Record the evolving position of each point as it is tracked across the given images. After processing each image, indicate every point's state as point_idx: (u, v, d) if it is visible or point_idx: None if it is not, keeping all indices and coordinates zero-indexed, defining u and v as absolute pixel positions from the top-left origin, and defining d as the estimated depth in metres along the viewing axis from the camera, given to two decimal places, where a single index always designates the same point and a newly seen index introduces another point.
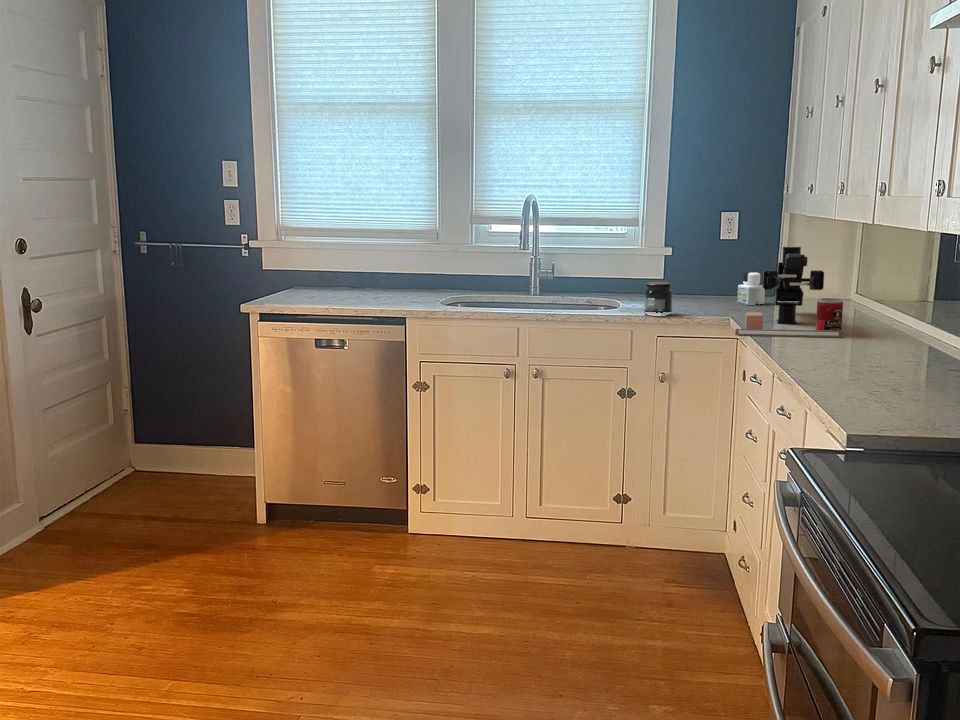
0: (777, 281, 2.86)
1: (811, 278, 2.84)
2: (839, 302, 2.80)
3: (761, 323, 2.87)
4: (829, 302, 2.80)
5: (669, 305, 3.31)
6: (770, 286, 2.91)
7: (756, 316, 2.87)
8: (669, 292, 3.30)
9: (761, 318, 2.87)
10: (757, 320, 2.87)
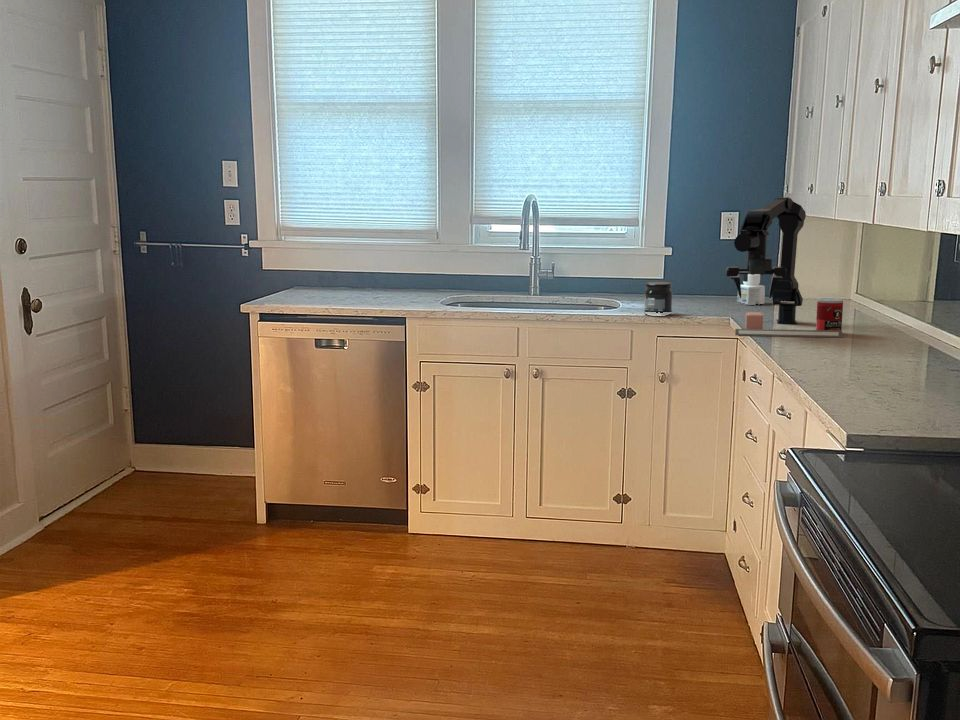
0: (738, 292, 2.91)
1: (772, 289, 2.87)
2: (839, 302, 2.80)
3: (761, 323, 2.87)
4: (829, 302, 2.80)
5: (669, 305, 3.31)
6: None
7: (756, 316, 2.87)
8: (669, 292, 3.30)
9: (761, 318, 2.87)
10: (757, 320, 2.87)
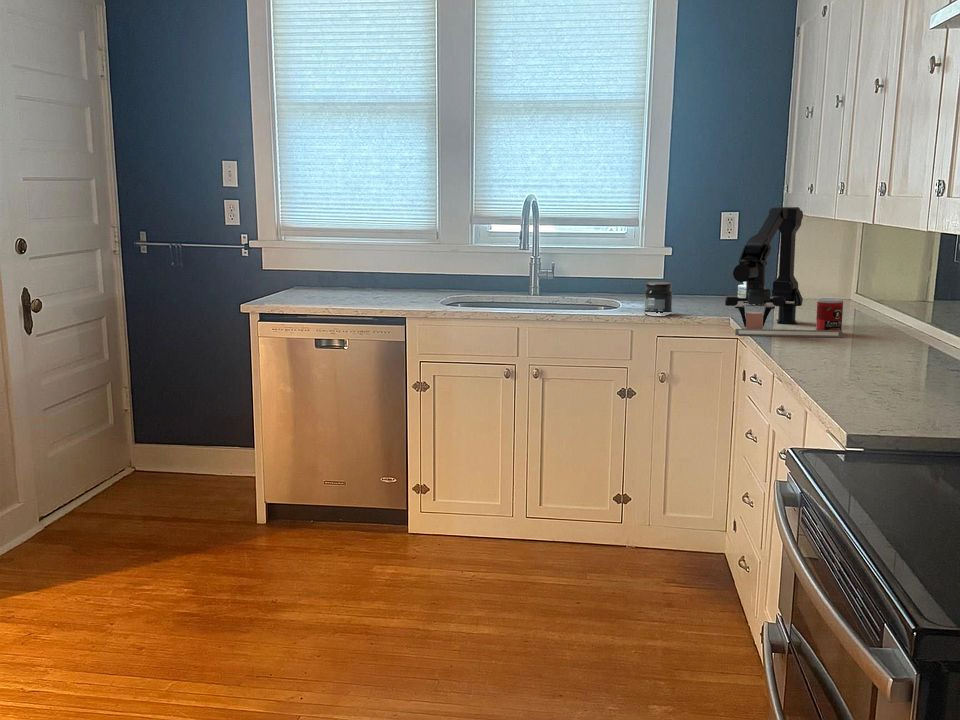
0: (743, 321, 2.92)
1: (764, 318, 2.89)
2: (839, 302, 2.80)
3: (761, 323, 2.87)
4: (829, 302, 2.80)
5: (669, 305, 3.31)
6: None
7: (756, 316, 2.87)
8: (669, 292, 3.30)
9: (761, 318, 2.87)
10: (757, 320, 2.87)
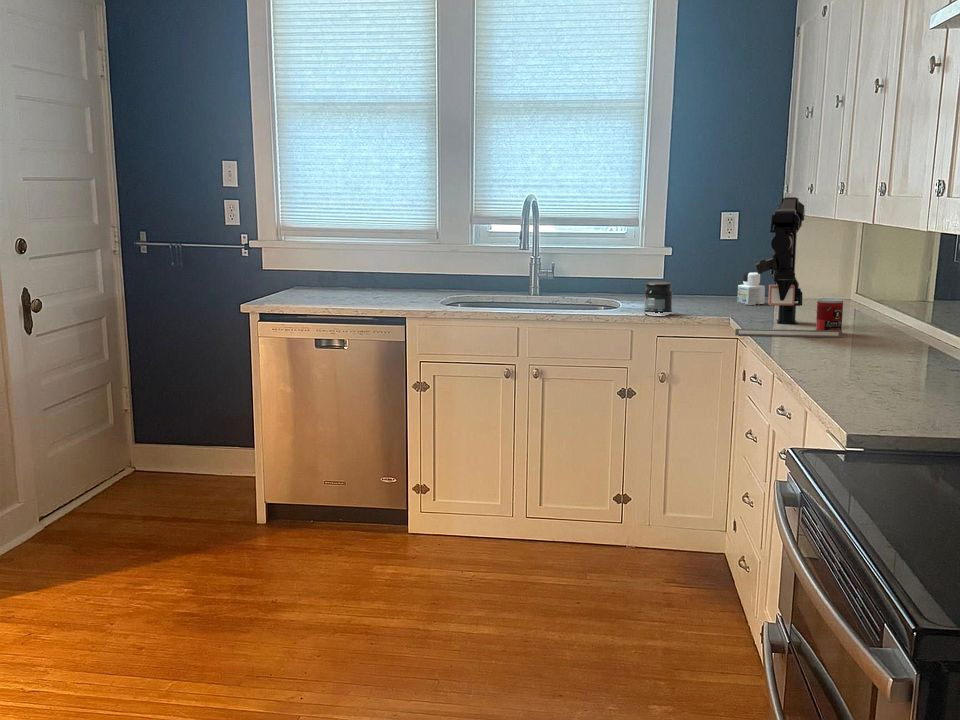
0: None
1: None
2: (839, 302, 2.80)
3: (769, 294, 2.83)
4: (829, 302, 2.80)
5: (669, 305, 3.31)
6: None
7: (769, 286, 2.84)
8: (669, 292, 3.30)
9: (769, 289, 2.83)
10: (769, 290, 2.84)
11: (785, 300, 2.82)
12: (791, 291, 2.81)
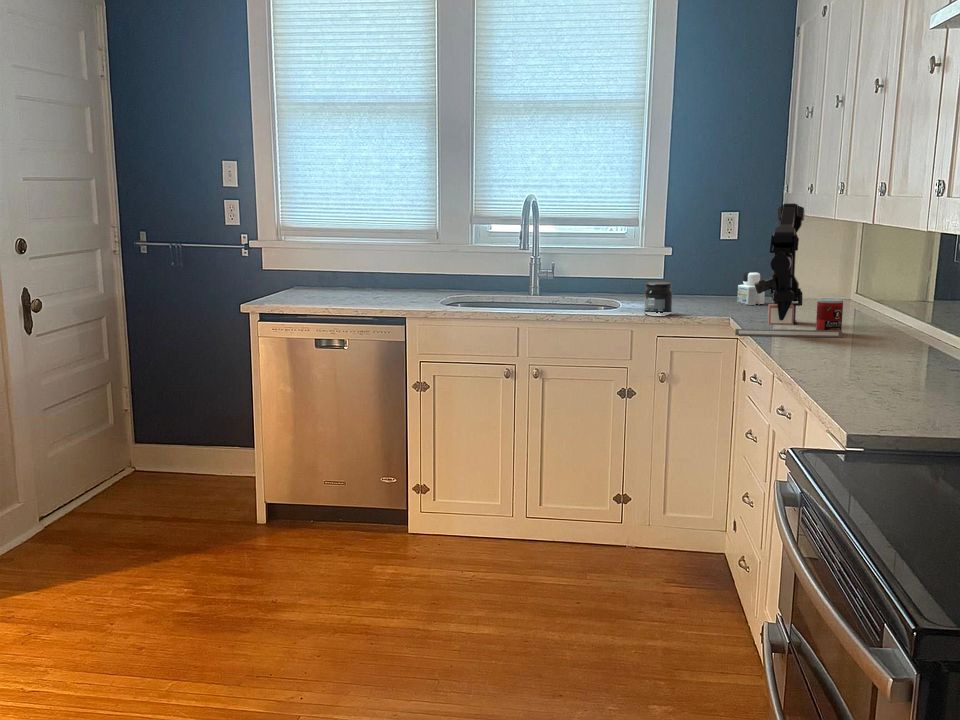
0: None
1: (778, 311, 2.82)
2: (839, 302, 2.80)
3: (769, 314, 2.84)
4: (829, 302, 2.80)
5: (669, 305, 3.31)
6: None
7: (769, 306, 2.85)
8: (669, 292, 3.30)
9: (769, 308, 2.84)
10: None
11: (784, 320, 2.83)
12: (790, 311, 2.82)
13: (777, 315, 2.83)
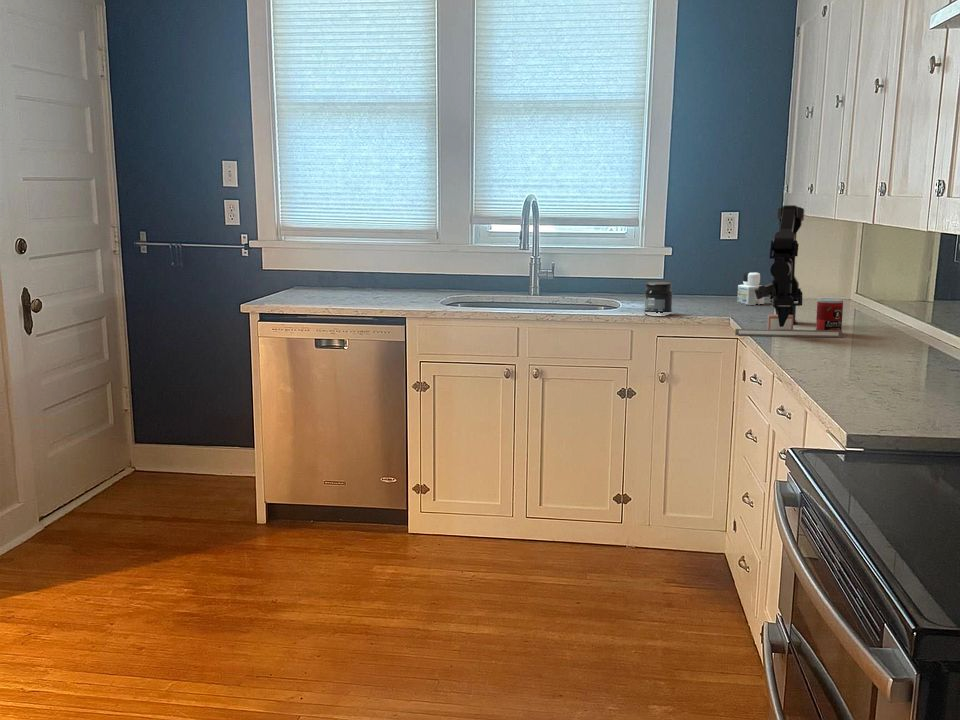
0: None
1: (778, 317, 2.81)
2: (839, 302, 2.80)
3: (768, 324, 2.85)
4: (829, 302, 2.80)
5: (669, 305, 3.31)
6: None
7: (768, 316, 2.86)
8: (669, 292, 3.30)
9: (768, 319, 2.85)
10: (768, 320, 2.86)
11: None
12: (790, 321, 2.83)
13: (776, 325, 2.84)
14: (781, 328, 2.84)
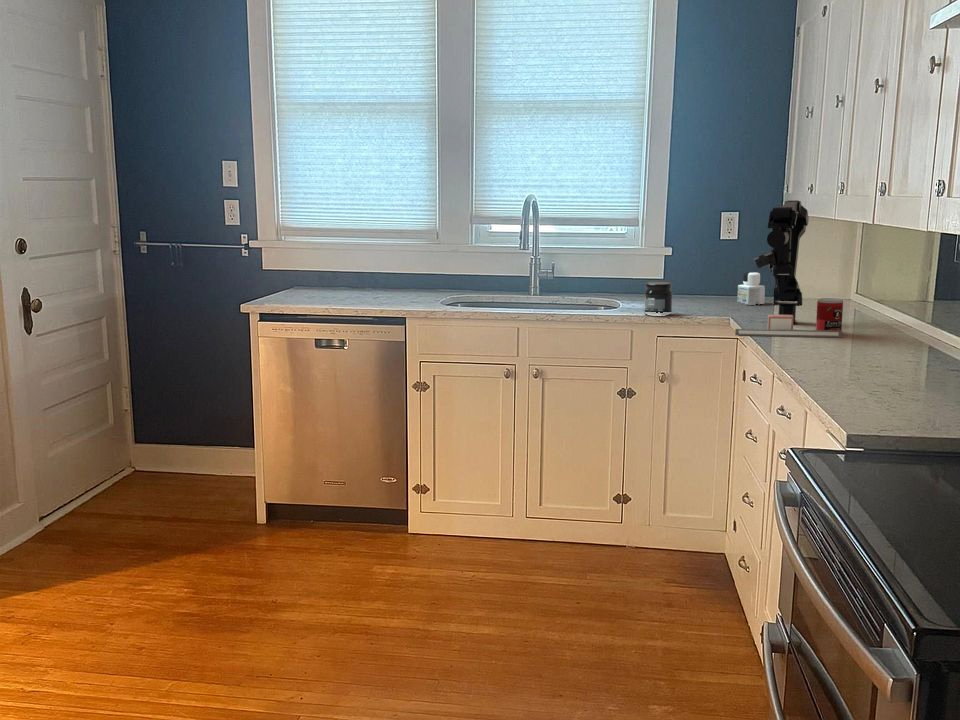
0: None
1: (777, 286, 2.88)
2: (839, 302, 2.80)
3: (768, 324, 2.85)
4: (829, 302, 2.80)
5: (669, 305, 3.31)
6: None
7: (768, 316, 2.86)
8: (669, 292, 3.30)
9: (768, 319, 2.85)
10: (768, 320, 2.86)
11: None
12: (790, 321, 2.83)
13: (776, 325, 2.84)
14: (781, 328, 2.84)
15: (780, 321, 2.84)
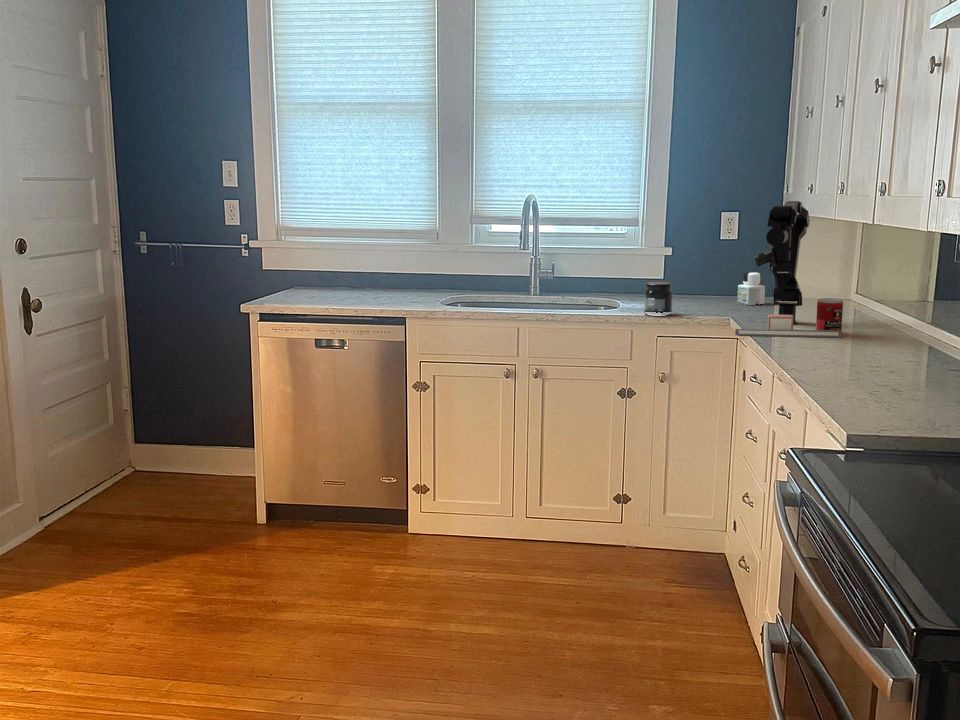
0: None
1: (777, 284, 2.89)
2: (839, 302, 2.80)
3: (768, 324, 2.85)
4: (829, 302, 2.80)
5: (669, 305, 3.31)
6: None
7: (768, 316, 2.86)
8: (669, 292, 3.30)
9: (768, 319, 2.85)
10: (768, 320, 2.86)
11: None
12: (790, 321, 2.83)
13: (776, 325, 2.84)
14: (781, 328, 2.84)
15: (780, 321, 2.84)
